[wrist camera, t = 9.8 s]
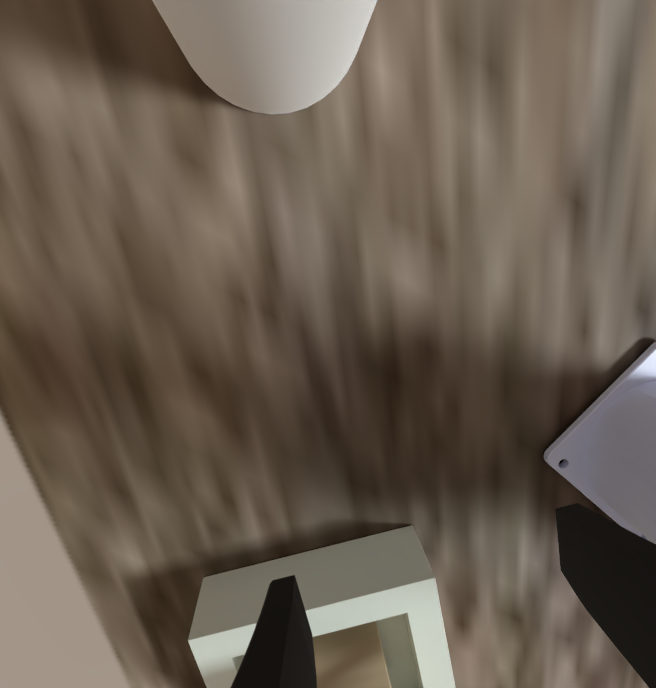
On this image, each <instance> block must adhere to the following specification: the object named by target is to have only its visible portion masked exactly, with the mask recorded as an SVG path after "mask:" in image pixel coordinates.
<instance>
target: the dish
mask: <svg viewBox="0 0 656 688" xmlns="http://www.w3.org/2000/svg"><path fill="white" fill-rule="evenodd" d="M292 575H295V577H296V581H297V584H298V587H299V591H300V594H301V598H302V601H303V604H304V608H305V611H306V615H307V618H308V621H309V625H310V628H311V632H312V637H315V636H319V635H323V634H326V633H330V632H334V631H338V630H342V629H346V628H350V627H354V626H358V625H361V624H365V623H369V622H373V621H376V623H377V628H378V632H379V636H380V640H381V644H382V648H383V652H384V656H385V660H386V665H387V669H388V673H389V677H390V682H391V686H392V688H455V683H454V677H453V672H452V667H451V661H450V656H449V650H448V645H447V640H446V634H445V629H444V624H443V618H442V613H441V607H440V602H439V597H438V591H437V586H436V580H435V577H434V574H433V572H432V569H431V567H430V565H429V562H428V560H427V558H426V555H425V553H424V551H423V548H422V546H421V543H420V541H419V539H418V536H417V534H416V532H415V529H414V527H413V525H411V526H407V527H403V528H399V529H395V530H391V531H387V532H383V533H379V534H375V535H371V536H367V537H363V538H359V539H355V540H351V541H347V542H343V543H339V544H335V545H331V546H327V547H323V548H319V549H315V550H311V551H307V552H303V553H299V554H295V555H291V556H287V557H283V558H279V559H275V560H271V561H267V562H263V563H259V564H255V565H251V566H247V567H243V568H239V569H235V570H231V571H227V572H223V573H219V574H215V575H211V576H207V577H203V581H202V585H201V589H200V593H199V597H198V601H197V605H196V609H195V614H194V618H193V622H192V626H191V630H190V634H189V638H188V642H189V645H190V647H191V650H192V652H193V655H194V657H195V660H196V662H197V665H198V667H199V670H200V672H201V675H202V677H203V680H204V682H205V685H206V687H207V688H231V685H232V683H233V681H234V679H235V676H236V674H237V672H238V670H239V667H240V665H241V663H242V660H243V658H244V655H245V653H246V650H247V648H248V645H249V642H250V640H251V637H252V635H253V632H254V630H255V627H256V624H257V621H258V618H259V616H260V613H261V610H262V607H263V604H264V601H265V597H266V594H267V591H268V587H269V584H270V583H271V582H272V580H276V579H280V578H284V577H288V576H292Z"/></svg>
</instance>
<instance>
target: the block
mask: <svg viewBox="0 0 656 688" xmlns="http://www.w3.org/2000/svg"><path fill="white" fill-rule="evenodd" d="M313 646H314V655H315V665H316V675H317V688H392V686H391V682H390V677H389V673H388V669H387V665H386V660H385V656H384V652H383V648H382V644H381V640H380V636H379V632H378V628H377V623H376V621H373V622H369V623H365V624H361V625H358V626H354V627H350V628H346V629H342V630H338V631H334V632H330V633H326V634H323V635H319V636H315V637H313Z"/></svg>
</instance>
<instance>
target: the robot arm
mask: <svg viewBox="0 0 656 688" xmlns="http://www.w3.org/2000/svg"><path fill="white" fill-rule="evenodd" d="M563 459H564V461H563V462H562V463H561V464H559V462H560V461H561V460H563ZM544 460H545V461H546V462H547V463H548V464H549V465H550V466H551V467H552V468H553V469H555V470H556V471H557V472H558V473H559V474H560V475H562V476H563V477H564V478H565V479H566V480H567V481H569V482H570V483H571V484H572V485H573V486H574V487H576V488H577V489H578V490H579V491H580V492H581V493H583V494H584V495H585V496H586V497H587V498H588V499H590V500H591V501H592V502H593V503H594V504H595V505H597V506H598V507H599V508H600V509H601V510H602V511H604V512H605V513H606V514H607V515H608V516H609V517H611V518H612V519H613V520H614V521H615V522H616V523H618V524H619V525H618V524H616V523H614V522H612V521H610V520H608V519H606V518H604V517H603V516H601V515H599V514H597V513H595V512H593V511H591V510H589V509H587V508H585V507H583V506H581V505H579V504H573V505H569V506H565V507H561V508H557V509H556V520H557V531H558V543H559V554H560V566H561V571H562V573H563V574H564V576H565V577H566V579H567V581H568V582H569V584H570V585H571V587H572V589H573V590H574V592H575V593H576V595H577V596H578V598H579V599H580V601H581V602H582V604H583V605H584V607H585V608H586V610H587V611H588V612H589V613H590V615H591V616H592V617H593V618H594V620H595V621H596V622H597V623H598V625H599V626H600V627H601V628H602V630H603V631H604V632H605V633H606V635H607V636H608V637H609V638H610V640H611V641H612V642H613V643H614V645H615V646H616V647H617V648H618V650H619V651H620V652H621V653H622V655H623V656H624V657H625V658H626V659H627V661H628V662H629V663H630V664H631V666H632V667H633V668H634V669H635V671H636V672H637V673H638V674H639V675H640V677H641V678H642V679H643V680H644V682H645V683H646V684H647V685H648V687H649V688H656V342H654V343H653V344H652V345H651V346H650V347H649V348H648V349H647V350H646V351H645V352H644V353H643V354H642V355H641V356H640V357H639V358H638V359H637V360H636V361H635V362H634V363H633V364H632V365H631V366H630V367H629V368H628V369H627V370H626V371H625V372H624V373H623V374H622V375H621V376H620V377H619V378H618V379H617V380H616V381H615V382H614V383H613V384H612V385H611V386H610V387H609V388H608V389H607V390H606V391H605V392H604V393H603V394H602V395H601V396H600V397H599V398H598V399H597V400H596V401H595V402H594V403H593V404H592V405H591V406H590V407H589V408H588V409H587V410H586V411H585V412H584V413H583V414H582V415H581V416H580V417H579V418H578V419H577V420H576V421H575V422H574V423H573V424H572V425H571V426H570V427H569V428H568V429H567V430H566V431H565V432H564V433H563V434H562V435H561V436H560V437H559V438H558V439H557V440H556V441H555V442H554V443H553V444H552V445H551V446H550V447H549V448H548V449H547V450H546V451H545V452H544ZM231 688H317V675H316V665H315V655H314V646H313V637H312V632H311V628H310V625H309V621H308V618H307V615H306V611H305V608H304V604H303V601H302V598H301V594H300V591H299V587H298V584H297V581H296V577H295V575H292V576H288V577H284V578H280V579H276V580H272V582H271V583H270V584H269V587H268V591H267V594H266V597H265V601H264V604H263V607H262V610H261V613H260V616H259V618H258V621H257V624H256V627H255V630H254V632H253V635H252V637H251V640H250V642H249V645H248V648H247V650H246V653H245V655H244V658H243V660H242V663H241V665H240V667H239V670H238V672H237V674H236V676H235V679H234V681H233V683H232V685H231Z"/></svg>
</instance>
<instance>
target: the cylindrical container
mask: <svg viewBox="0 0 656 688" xmlns="http://www.w3.org/2000/svg"><path fill="white" fill-rule="evenodd" d="M152 1H153V3H154V5H155V6H156V8H157V10H158V11H159V13H160V15H161V16H162V18H163V20H164V22H165V23H166V25H167V27H168V28H169V30H170V32H171V33H172V35H173V37H174V38H175V40H176V42H177V44H178V45H179V47H180V49H181V50H182V52H183V54H184V55H185V57H186V59H187V61H188V62H189V64H190V66H191V67H192V68H193V70H194V71H195V72H196V73H197V75H198V76H199V77H200V78H201V80H202V81H203V82H204V83H205V84H206V85H207V86H208V87H209V88H210V89H212V90H213V91H214V92H215V93H216V94H217V95H218V96H220V97H222V98H223V99H225V100H227V101H228V102H230V103H231V104H233V105H235V106H238V107H240V108H243V109H246V110H248V111H251V112H257V113H263V114H270V115H272V114H286V113H292V112H295V111H298V110H301V109H305V108H307V107H309V106H311V105H313V104H314V103H316V102H318V101H320V100H321V99H323V98H324V97H325V96H326V95H328V94H329V93H330V92H331V91H332V90H333V89H334V88H335V87H336V86H337V85H338V84H339V83H340V81H341V80H342V79H343V77H344V76H345V75H346V73H347V72H348V70H349V68H350V66H351V64H352V62H353V60H354V58H355V56H356V54H357V51H358V49H359V46H360V43H361V41H362V38H363V36H364V33H365V31H366V28H367V25H368V23H369V20H370V18H371V15H372V13H373V10H374V7H375V5H376V2H377V0H152Z"/></svg>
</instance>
